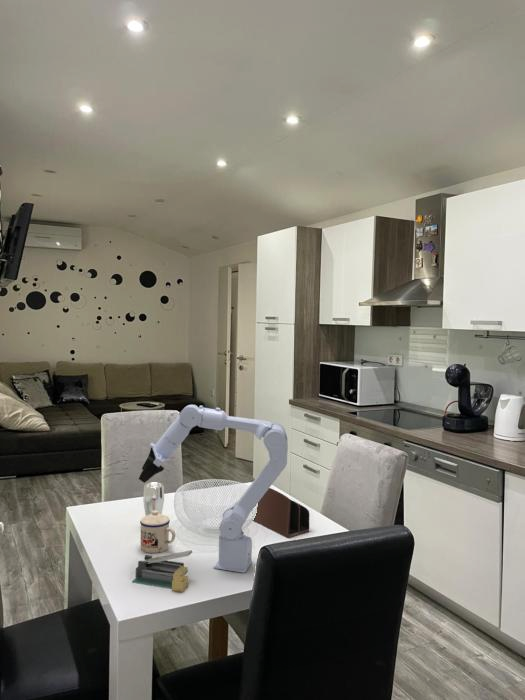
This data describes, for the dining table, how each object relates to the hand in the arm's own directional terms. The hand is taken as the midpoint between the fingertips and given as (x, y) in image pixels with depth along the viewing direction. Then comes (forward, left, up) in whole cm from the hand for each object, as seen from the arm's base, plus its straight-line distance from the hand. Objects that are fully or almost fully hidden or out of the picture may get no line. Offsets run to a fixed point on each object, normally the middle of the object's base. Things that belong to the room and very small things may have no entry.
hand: (143, 475), depth 163 cm
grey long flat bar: (-11, +7, -20) cm, 25 cm away
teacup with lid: (-1, -10, -26) cm, 28 cm away
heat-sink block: (-10, +7, -26) cm, 29 cm away
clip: (-17, +12, -26) cm, 33 cm away
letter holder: (-33, -41, -26) cm, 58 cm away
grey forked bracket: (-5, +7, -26) cm, 27 cm away
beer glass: (+8, -25, -26) cm, 37 cm away
